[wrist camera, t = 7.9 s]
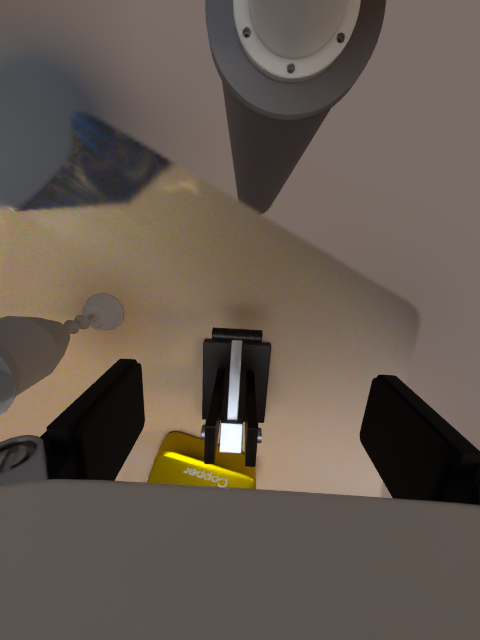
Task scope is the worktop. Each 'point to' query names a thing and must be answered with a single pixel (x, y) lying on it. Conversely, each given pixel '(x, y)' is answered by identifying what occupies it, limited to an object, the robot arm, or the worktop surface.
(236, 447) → the lever
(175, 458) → the element tile
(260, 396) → the bracket
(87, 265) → the worktop surface
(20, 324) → the chalice
